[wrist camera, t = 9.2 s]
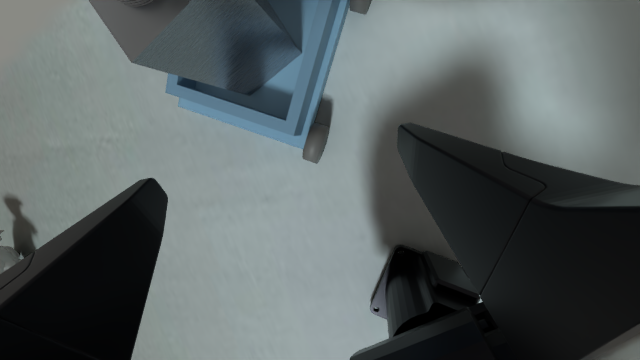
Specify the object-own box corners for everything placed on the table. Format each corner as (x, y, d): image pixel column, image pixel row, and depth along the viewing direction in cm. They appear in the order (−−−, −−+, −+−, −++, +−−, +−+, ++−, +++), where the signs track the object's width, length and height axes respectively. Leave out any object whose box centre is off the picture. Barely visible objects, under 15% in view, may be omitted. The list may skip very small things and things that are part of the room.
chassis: (320, 161, 20) (312, 166, 17) (185, 114, 22) (157, 111, 19) (378, -23, 17) (380, -55, 14) (216, -64, 19) (188, -99, 16)
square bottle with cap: (301, 53, 18) (148, -119, 6) (249, 96, 19) (31, 34, 7) (262, -8, 18) (8, -333, 5) (212, 39, 19) (-86, -132, 7)
